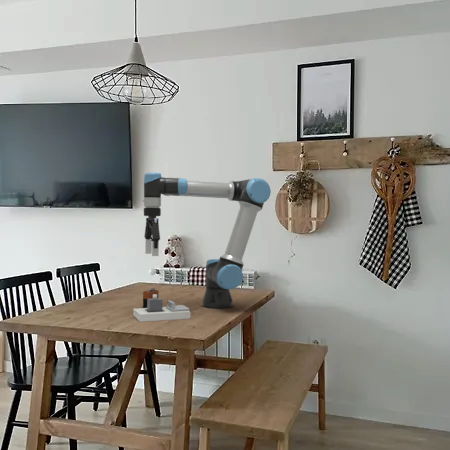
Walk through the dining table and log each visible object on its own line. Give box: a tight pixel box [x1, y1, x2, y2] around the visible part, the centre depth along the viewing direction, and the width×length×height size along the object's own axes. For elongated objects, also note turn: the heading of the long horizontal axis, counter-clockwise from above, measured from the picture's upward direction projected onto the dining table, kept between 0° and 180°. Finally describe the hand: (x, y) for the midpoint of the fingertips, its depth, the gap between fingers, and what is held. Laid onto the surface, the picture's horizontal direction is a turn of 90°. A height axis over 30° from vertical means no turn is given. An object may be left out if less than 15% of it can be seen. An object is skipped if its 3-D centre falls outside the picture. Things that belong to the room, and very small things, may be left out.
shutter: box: [165, 299, 190, 311], centre depth 229 cm, size 8×10×3 cm
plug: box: [147, 294, 163, 313], centre depth 225 cm, size 6×4×10 cm
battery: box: [142, 287, 159, 308], centre depth 242 cm, size 4×7×10 cm, turn 151°
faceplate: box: [132, 306, 191, 323], centre depth 226 cm, size 22×14×3 cm, turn 111°
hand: (151, 254), depth 231 cm, fingers open, 13 cm apart
